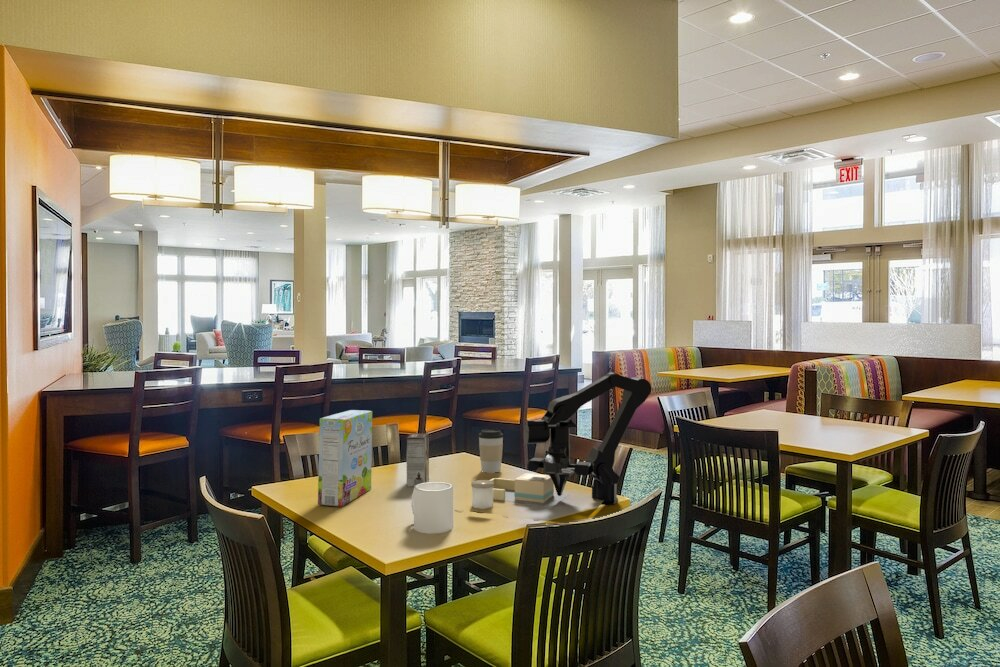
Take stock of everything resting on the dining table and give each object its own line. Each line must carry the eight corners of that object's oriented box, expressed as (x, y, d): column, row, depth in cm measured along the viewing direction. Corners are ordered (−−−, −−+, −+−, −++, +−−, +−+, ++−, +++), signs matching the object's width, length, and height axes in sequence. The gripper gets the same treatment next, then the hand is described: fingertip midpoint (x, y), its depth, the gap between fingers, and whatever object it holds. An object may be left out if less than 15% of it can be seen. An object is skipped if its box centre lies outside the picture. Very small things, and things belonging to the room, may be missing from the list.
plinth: (568, 498, 199) (568, 484, 199) (553, 510, 186) (553, 495, 186) (493, 490, 209) (493, 477, 209) (474, 501, 196) (474, 487, 196)
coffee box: (410, 480, 223) (410, 433, 223) (429, 480, 223) (429, 433, 223) (406, 486, 214) (405, 437, 214) (425, 486, 214) (425, 437, 214)
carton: (553, 495, 198) (553, 475, 198) (543, 502, 190) (543, 481, 190) (525, 492, 202) (525, 472, 202) (514, 499, 194) (514, 479, 193)
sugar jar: (497, 508, 189) (497, 481, 189) (488, 514, 183) (488, 486, 183) (477, 505, 191) (477, 479, 191) (467, 511, 186) (467, 484, 185)
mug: (397, 525, 173) (397, 484, 173) (427, 516, 181) (427, 478, 181) (431, 536, 164) (431, 493, 164) (461, 526, 171) (461, 486, 171)
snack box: (344, 508, 189) (344, 419, 189) (316, 506, 191) (316, 418, 191) (373, 489, 211) (373, 409, 210) (348, 488, 212) (348, 408, 212)
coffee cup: (493, 475, 230) (493, 432, 230) (473, 471, 236) (473, 430, 236) (508, 470, 237) (508, 429, 237) (488, 467, 243) (488, 426, 243)
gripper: (520, 444, 189) (520, 499, 189) (583, 449, 181) (582, 506, 182) (533, 438, 199) (533, 490, 199) (593, 443, 192) (593, 496, 192)
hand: (559, 495), depth 193 cm, fingers closed
